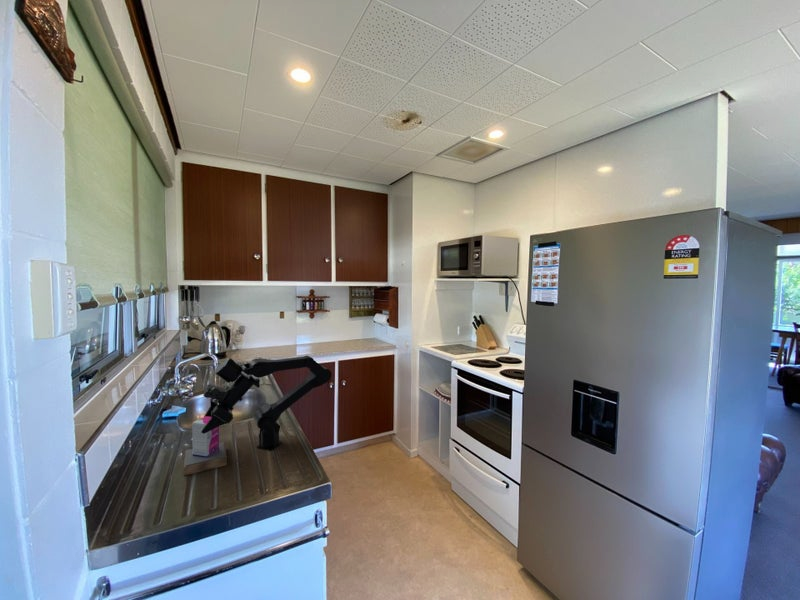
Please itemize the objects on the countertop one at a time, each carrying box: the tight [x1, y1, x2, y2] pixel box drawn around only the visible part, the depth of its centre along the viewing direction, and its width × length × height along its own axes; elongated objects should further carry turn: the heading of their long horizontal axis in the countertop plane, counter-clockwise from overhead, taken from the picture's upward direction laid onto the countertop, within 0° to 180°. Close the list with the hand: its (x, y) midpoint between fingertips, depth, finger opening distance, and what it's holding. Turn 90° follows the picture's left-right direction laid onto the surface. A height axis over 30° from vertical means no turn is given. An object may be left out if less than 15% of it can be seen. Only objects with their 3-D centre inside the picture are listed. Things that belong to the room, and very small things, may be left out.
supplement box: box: [192, 415, 220, 458], centre depth 113 cm, size 6×6×12 cm
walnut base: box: [183, 441, 228, 476], centre depth 113 cm, size 12×12×3 cm
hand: (202, 427), depth 112 cm, fingers open, 9 cm apart
